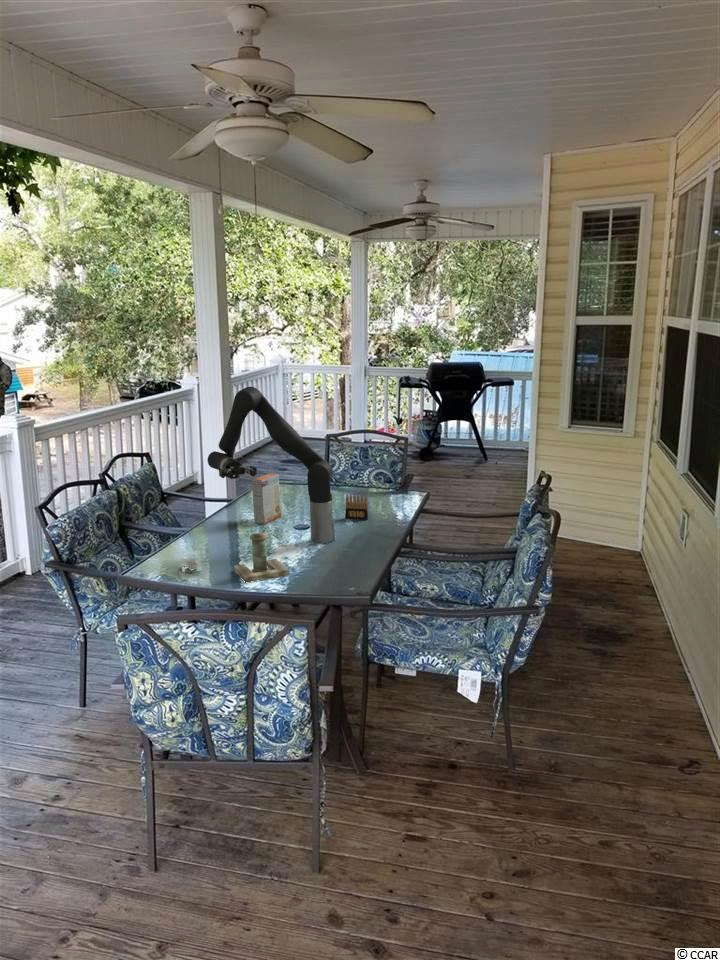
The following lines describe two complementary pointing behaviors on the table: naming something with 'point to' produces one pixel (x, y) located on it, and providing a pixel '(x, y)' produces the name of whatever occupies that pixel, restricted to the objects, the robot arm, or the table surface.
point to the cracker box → (266, 498)
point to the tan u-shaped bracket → (272, 564)
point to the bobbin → (259, 552)
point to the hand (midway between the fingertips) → (243, 475)
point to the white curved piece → (190, 564)
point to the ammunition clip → (354, 512)
